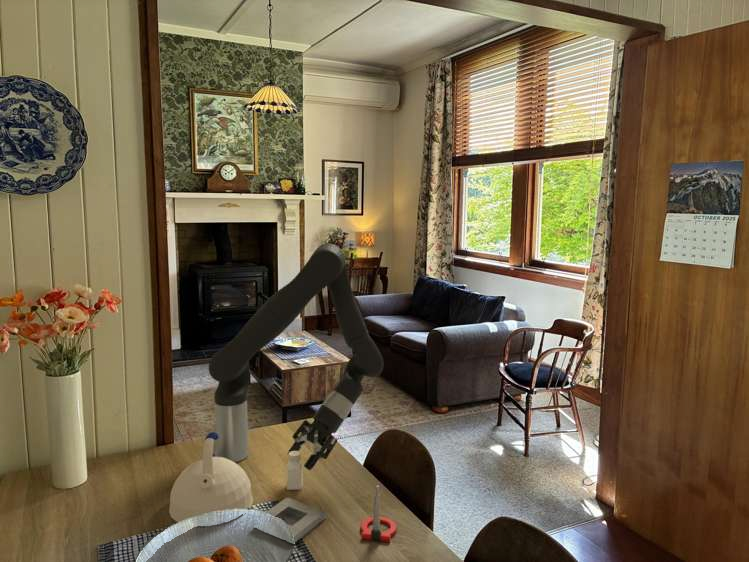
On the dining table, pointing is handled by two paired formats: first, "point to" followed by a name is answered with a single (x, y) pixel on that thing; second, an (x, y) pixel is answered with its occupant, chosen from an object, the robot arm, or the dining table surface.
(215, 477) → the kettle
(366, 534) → the tow hook
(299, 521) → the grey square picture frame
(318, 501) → the dining table surface
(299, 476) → the salt shaker
